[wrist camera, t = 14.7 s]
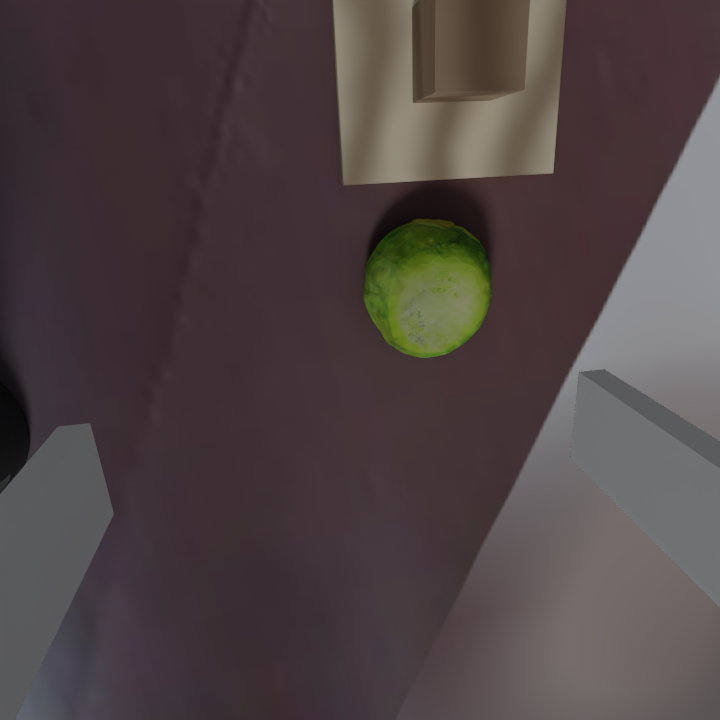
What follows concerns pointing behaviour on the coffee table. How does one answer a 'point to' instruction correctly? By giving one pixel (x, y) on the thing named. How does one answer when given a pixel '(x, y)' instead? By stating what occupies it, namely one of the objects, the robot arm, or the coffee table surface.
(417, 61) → the walnut cube
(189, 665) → the coffee table surface
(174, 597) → the coffee table surface
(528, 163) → the oak board
